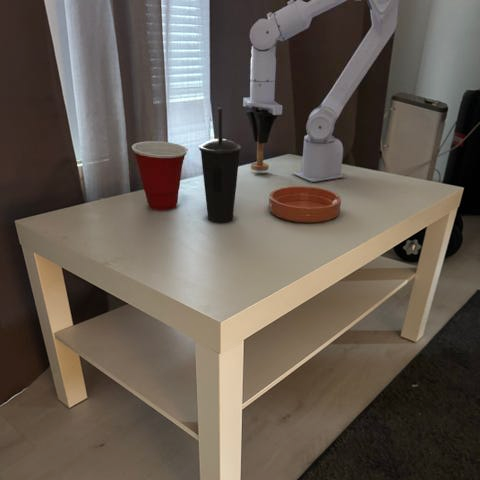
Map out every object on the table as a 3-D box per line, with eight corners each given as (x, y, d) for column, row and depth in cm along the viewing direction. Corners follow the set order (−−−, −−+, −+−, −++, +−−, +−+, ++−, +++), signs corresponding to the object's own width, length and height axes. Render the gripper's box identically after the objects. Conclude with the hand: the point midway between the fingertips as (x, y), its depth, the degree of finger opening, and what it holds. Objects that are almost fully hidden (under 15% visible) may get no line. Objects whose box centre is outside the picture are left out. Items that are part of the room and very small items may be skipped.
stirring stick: (262, 165, 124) (264, 126, 119) (271, 169, 121) (273, 129, 116) (247, 167, 123) (248, 128, 118) (256, 171, 119) (258, 131, 114)
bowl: (311, 197, 107) (312, 183, 105) (353, 217, 96) (355, 201, 94) (255, 206, 100) (256, 191, 99) (294, 229, 90) (296, 212, 88)
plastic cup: (181, 217, 94) (177, 154, 88) (129, 212, 96) (122, 150, 90) (196, 200, 104) (194, 141, 97) (148, 196, 105) (143, 138, 99)
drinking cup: (247, 221, 93) (251, 109, 83) (214, 228, 89) (213, 113, 79) (225, 209, 99) (226, 103, 88) (193, 216, 95) (189, 106, 84)
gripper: (232, 78, 115) (232, 138, 122) (264, 84, 104) (262, 149, 112) (257, 77, 118) (256, 135, 125) (291, 83, 107) (287, 146, 114)
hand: (260, 142), depth 119 cm, fingers closed on stirring stick
